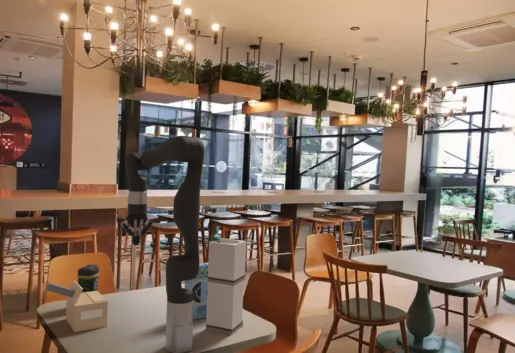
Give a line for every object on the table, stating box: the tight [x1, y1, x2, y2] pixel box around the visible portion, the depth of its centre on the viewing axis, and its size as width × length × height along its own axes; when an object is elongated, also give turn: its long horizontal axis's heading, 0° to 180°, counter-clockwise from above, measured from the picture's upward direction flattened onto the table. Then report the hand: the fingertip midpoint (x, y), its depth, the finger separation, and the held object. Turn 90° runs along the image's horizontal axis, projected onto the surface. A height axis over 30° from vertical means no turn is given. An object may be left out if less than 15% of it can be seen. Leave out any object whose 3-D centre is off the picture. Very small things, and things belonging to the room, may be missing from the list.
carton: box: [65, 290, 109, 333], centre depth 168 cm, size 16×12×10 cm
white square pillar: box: [205, 237, 247, 336], centre depth 168 cm, size 11×11×35 cm
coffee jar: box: [77, 263, 100, 293], centre depth 186 cm, size 10×8×19 cm
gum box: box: [184, 261, 209, 320], centre depth 182 cm, size 20×5×23 cm, turn 123°
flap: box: [45, 279, 83, 305], centre depth 162 cm, size 14×6×11 cm
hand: (136, 245), depth 169 cm, fingers closed
